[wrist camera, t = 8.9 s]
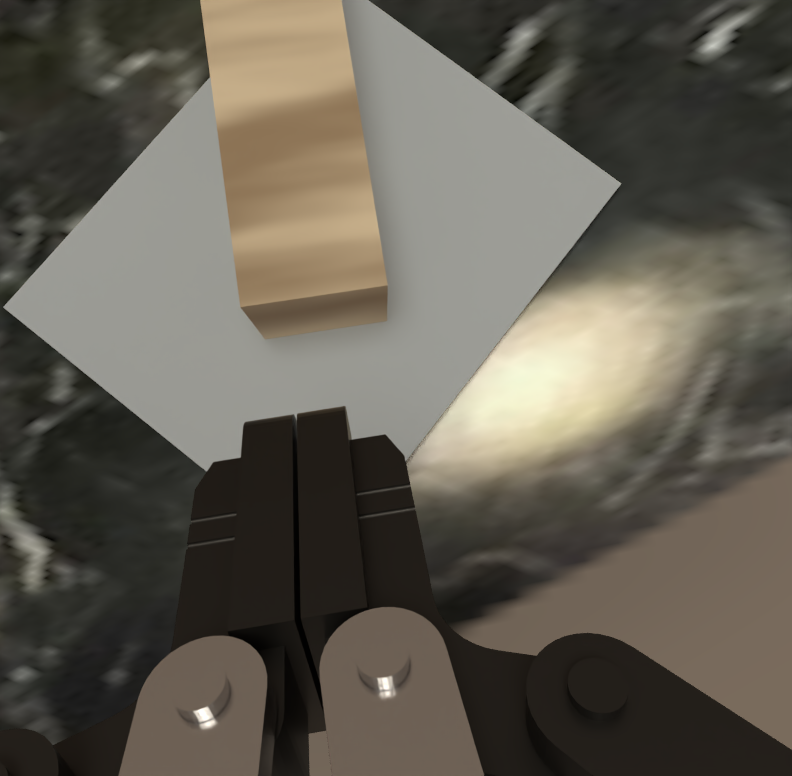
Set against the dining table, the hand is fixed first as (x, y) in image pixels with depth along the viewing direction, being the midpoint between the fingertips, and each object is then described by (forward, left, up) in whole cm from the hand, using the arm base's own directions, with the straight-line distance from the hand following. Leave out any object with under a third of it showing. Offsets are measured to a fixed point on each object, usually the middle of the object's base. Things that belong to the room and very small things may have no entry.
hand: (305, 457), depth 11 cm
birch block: (+4, +4, -12) cm, 13 cm away
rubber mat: (+6, +6, -15) cm, 17 cm away
